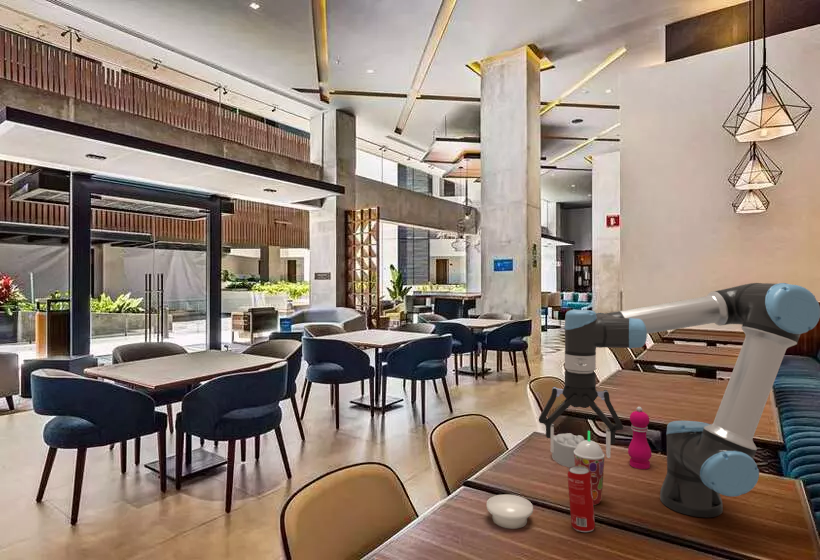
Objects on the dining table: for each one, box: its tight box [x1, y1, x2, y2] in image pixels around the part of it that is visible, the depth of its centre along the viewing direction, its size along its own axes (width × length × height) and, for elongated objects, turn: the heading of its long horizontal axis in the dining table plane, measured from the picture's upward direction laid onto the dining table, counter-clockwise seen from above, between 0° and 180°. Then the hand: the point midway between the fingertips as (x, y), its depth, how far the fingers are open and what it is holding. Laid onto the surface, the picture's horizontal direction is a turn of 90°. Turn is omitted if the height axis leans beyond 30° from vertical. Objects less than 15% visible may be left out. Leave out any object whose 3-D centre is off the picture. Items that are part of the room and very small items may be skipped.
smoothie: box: [574, 430, 606, 506], centre depth 138 cm, size 8×8×20 cm
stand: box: [486, 494, 534, 530], centre depth 128 cm, size 12×12×4 cm
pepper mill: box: [627, 406, 652, 470], centre depth 163 cm, size 7×7×20 cm
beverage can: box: [567, 466, 596, 533], centre depth 124 cm, size 6×6×15 cm
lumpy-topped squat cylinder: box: [551, 432, 585, 469], centre depth 167 cm, size 10×13×9 cm
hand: (579, 453), depth 123 cm, fingers open, 13 cm apart
